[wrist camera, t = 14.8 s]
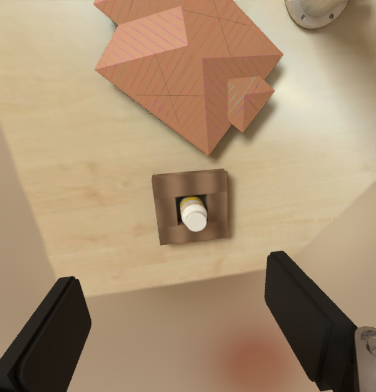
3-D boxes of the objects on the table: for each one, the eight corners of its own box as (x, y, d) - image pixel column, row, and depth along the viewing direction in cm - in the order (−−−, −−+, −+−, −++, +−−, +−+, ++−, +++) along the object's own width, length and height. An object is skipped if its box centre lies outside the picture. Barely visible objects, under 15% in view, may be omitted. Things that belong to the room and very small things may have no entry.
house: (214, 161, 45) (224, 168, 38) (77, 57, 37) (54, 38, 29) (283, 69, 41) (310, 56, 33) (145, -74, 32) (138, -138, 24)
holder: (222, 168, 46) (227, 171, 42) (223, 230, 51) (227, 237, 48) (152, 174, 44) (151, 178, 41) (160, 237, 50) (160, 245, 46)
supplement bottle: (180, 193, 46) (183, 209, 37) (203, 194, 47) (211, 209, 38) (179, 214, 48) (181, 234, 39) (200, 215, 48) (208, 234, 39)
